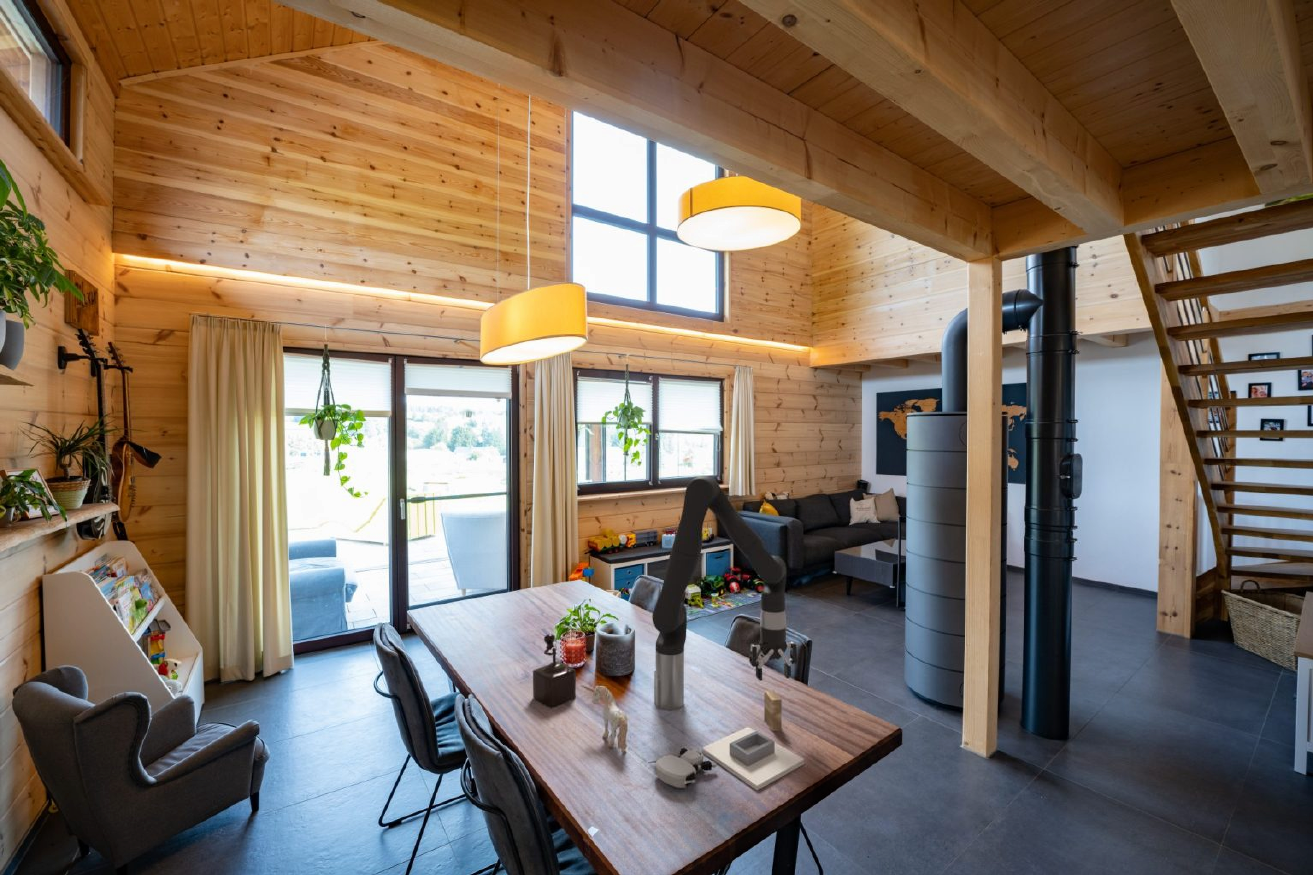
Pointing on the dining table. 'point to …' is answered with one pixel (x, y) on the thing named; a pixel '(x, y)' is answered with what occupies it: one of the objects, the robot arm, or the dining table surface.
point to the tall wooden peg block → (773, 710)
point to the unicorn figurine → (611, 716)
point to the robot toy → (681, 767)
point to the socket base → (753, 757)
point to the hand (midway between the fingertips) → (773, 678)
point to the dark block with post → (554, 680)
